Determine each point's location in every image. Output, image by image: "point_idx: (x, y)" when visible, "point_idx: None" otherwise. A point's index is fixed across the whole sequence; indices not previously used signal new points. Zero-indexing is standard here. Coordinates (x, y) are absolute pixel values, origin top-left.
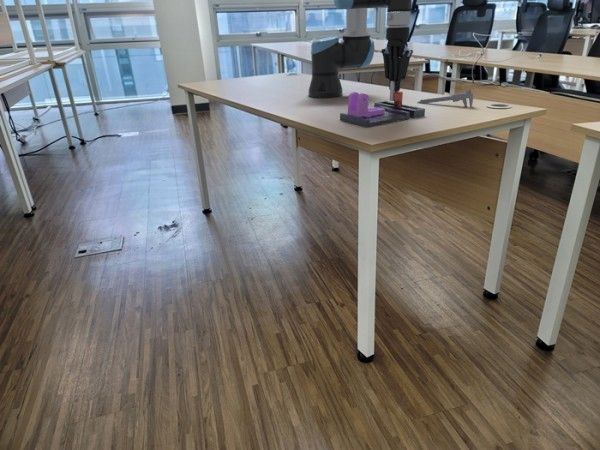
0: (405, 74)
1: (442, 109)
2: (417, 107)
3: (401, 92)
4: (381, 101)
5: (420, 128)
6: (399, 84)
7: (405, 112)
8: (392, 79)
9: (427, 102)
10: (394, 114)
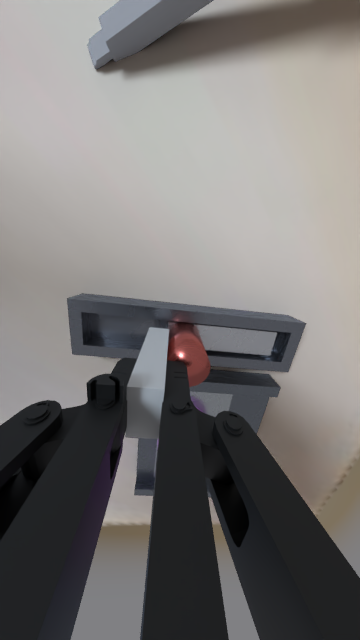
0: (272, 470)
1: (296, 154)
2: (270, 323)
3: (205, 365)
4: (69, 318)
5: (338, 423)
6: (188, 392)
7: (270, 396)
8: (123, 434)
9: (154, 36)
10: (231, 398)
